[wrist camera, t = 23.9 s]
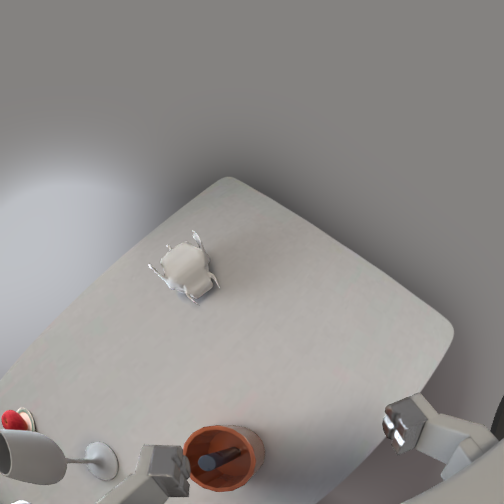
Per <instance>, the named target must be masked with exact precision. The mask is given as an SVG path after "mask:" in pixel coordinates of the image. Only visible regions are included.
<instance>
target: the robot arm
mask: <svg viewBox="0 0 504 504" xmlns="http://www.w3.org/2000/svg"><path fill="white" fill-rule="evenodd" d="M385 413H386V414H387V415H386V416H385V417H384V418H383V423H382V425H383V431H384V433H385V435H386V437H387V438H389V439H391V440H392V444H391V445H392V447H393V449H394V450H395V452H396V454H397V455H400V454H402V453H404V452H407V451H409V450H411V449H413V448H415V449H417V450H419V451H420V452H423V453H425V454H427V455H429V456H431V457H433V458H435V459H437V460H439V461H441V462H443V463H446V464H447V465H446V466H445V468H444V470H443V471H442V473H441V477H442V478H443V480H444V481H442V482H441V483H439V484H437V485H436V486H434V487H432V488H430V489H428V490H426V491H425V492H423V493H421V494H419V495H417V496H415V497H413V498H411V499H409V500H406V501H405V502H402V503H400V504H504V438H503V439H502V440H501V441H500V442H499V441H498V439H497V438H496V437H495V436H494V435H493V434H492V433H491V432H490V431H489V430H488V429H487V427H486V426H485V425H482V424H478V423H474V422H470V421H467V420H463V419H459V418H456V417H452V416H449V415H445V414H442V413H441V414H438V413H437V412H436V411H435V410H434V409H433V407H432V406H431V405H430V404H429V403H428V402H427V401H426V399H425V398H424V397H423V396H422V395H421V394H420V393H416V394H414V395H412V396H409V397H406V398H404V399H402V400H399V401H397V402H394V403H392V404H389V405H387V406H386V408H385ZM190 475H191V468H190V462H189V460H188V458H187V456H185V455H183V449H182V447H181V446H169V445H143V447H142V448H141V452H140V456H139V459H138V463H137V467H136V470H135V474H131V475H129V476H128V477H127V478H126V479H125V480H123V481H122V482H121V483H120V484H119V485H117V486H116V487H115V488H114V489H112V490H111V491H110V492H109V493H107V494H106V495H105V496H103V497H102V498H101V499H100V500H98V501H97V502H96V503H95V504H164V503H165V502H166V500H167V499H168V498H169V497H189V487H190V484H189V483H188V481H187V479H188V478H189V477H190ZM11 504H31V503H29V502H27V501H24V500H20V501H16V502H14V503H11Z"/></svg>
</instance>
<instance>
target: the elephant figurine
mask: <svg viewBox="0 0 504 504" xmlns="http://www.w3.org/2000/svg"><path fill="white" fill-rule="evenodd" d="M192 231H193V230H192ZM193 233H194V235H193V237H194V239H195V240H196V242H197V243H198V245H199V248H198V247H194V246H193V245H192V244H190V243H189V242H187V241H186V242H182V243H181V244H179V245H177V246H176V247H174V248H173V249H172V248H171V247H170V246H169V245H167V246H168V249H169V250H170V251H169V252H168V253H167V254H166V255H164V257H163V258H162V259H161V261H160V263H161V265H162V267H163V269H164V276H163V275H161V274H160V273H158V272H157V270H156V269H155V268H154V267H153V266H152V265H151V264H150V263H149V268H151V269H152V270H153V271H154V272H155V273H156V274H157V275H158V276H159V277H161V278H162V279H163V280H164V281H165V282H166V283H167V285H168V287H169V288H170V289H171V290H174V289H175V288H176V289H177V290H179V291H181V292H183V293H186V295H187V297H189V298H190V299H191V300H192V301H193V302H194V303H196V302H195V301H194V300H193V299H192V297H193V298H194V299H198V298H200V297H201V296H202V295H203V294H204V293H206V292H207V291H208V290H210V289H211V288H212V287H213V283H212V281H211V278H213V279H214V280H215V282H216V283H217V285H218V287H219V288H220V286H219V284H218V281H217V279H216V278H215V276H214V274H212V273H210V272H209V268H208V262H210V258H209V256H208V254H207V253H206V252H205V249H204V247H203V245H202V242H201V240H200V238H199V236H198V235H197V233H196V232H195V231H193ZM196 304H197V305H198V303H196Z"/></svg>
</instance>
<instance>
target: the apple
mask: <svg viewBox="0 0 504 504" xmlns="http://www.w3.org/2000/svg"><path fill="white" fill-rule="evenodd" d="M2 424H3V427H4V428H5V429H9V430H24V431H33V432H35V427H34V421H33V418H32V416H31V414H30V412H29V411H28V410H27V409H25V408H20V409H19V410H18V411H17V412H15V411H13V410H8V411H6V412H4V414H3V415H2Z"/></svg>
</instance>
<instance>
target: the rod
mask: <svg viewBox="0 0 504 504" xmlns="http://www.w3.org/2000/svg"><path fill="white" fill-rule="evenodd" d="M240 454H241V452H240V450H239V449H238V448H237V447H231V448H228V449H224V450H221V451H218V452H214V453H211V454H207V455H203V456H201V457H200V458H199V460H198V464H199V466H200V468H201V469H202V470H204V471H212V470H214V469H216V468H218V467H220V466H222V465H224V464H226V463H228V462H230V461H232V460H234V459H236V458H238V457H239V456H240Z"/></svg>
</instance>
